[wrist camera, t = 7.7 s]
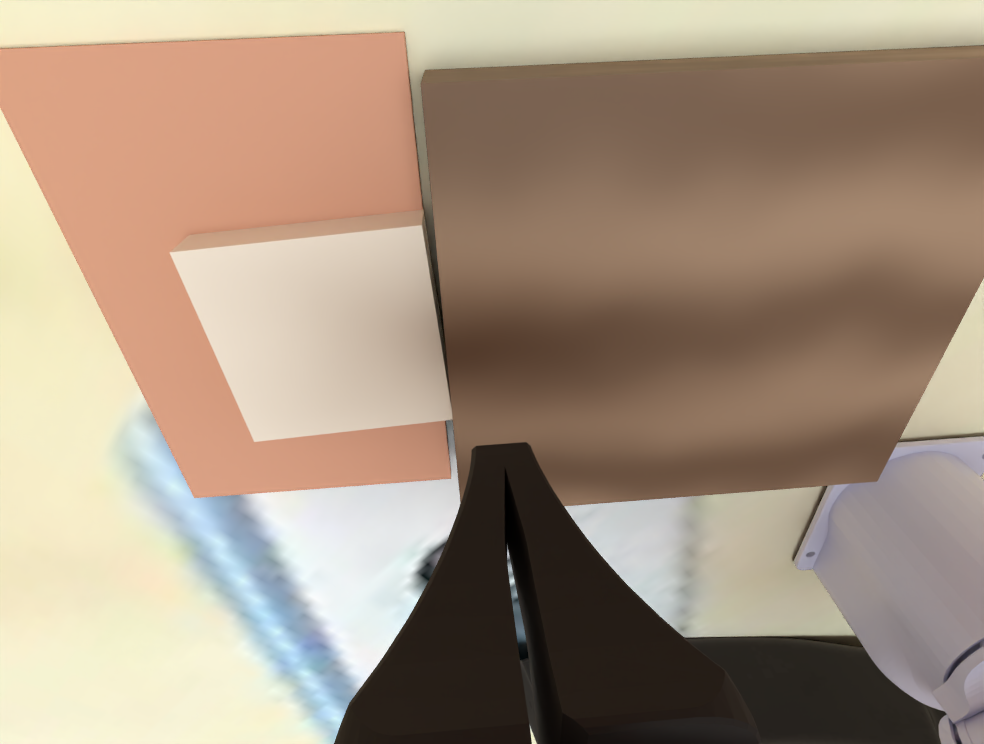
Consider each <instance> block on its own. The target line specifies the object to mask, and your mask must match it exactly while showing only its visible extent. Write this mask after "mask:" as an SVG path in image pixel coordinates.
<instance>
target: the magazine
mask: <svg viewBox="0 0 984 744" xmlns="http://www.w3.org/2000/svg"><path fill="white" fill-rule="evenodd" d="M685 639H686V640H688V641H689V642H690V643H691V644H692V645H694V646H695V647H696V648H697V649H699V650H700V651H701V652H702V653H703V654H705V655H706V656H707V657H709V658H710V659H711V660H712V661H714V662H715V663H716V664H718V665H719V666H720V667H722V668H723V669H724V670H725V671H726V672H727V673H728V675H729V676H730V678H731V680H732V681H733V683H734V684H735V686H736V688H737V689H738V691H739V693H740V694H741V696H742V698H743V700H744V702H745V703H746V705H747V707H748V709H749V711H750V713H751V715H752V717H753V719H754V721H755V724H756V726H757V729H758V732H759V734H760V737H761V741H760V744H941V741H940V737H939V726H938V725H939V722H940V720H941V719H942V718H943V717H944V716H945V715H947V714H946V713H945V711H942V710H938V709H935V708H932V707H930V706H928V705H925V704H923V703H921V702H919V701H918V700H916V699H914V698H913V697H911V696H910V695H908V694H907V693H905V692H904V691H903V690H901V689H900V688H899V687H898V686H896V685H895V684H894V683H893V682H892V681H891V680H889V679H888V678H887V677H886V676H885V675H884V674H883V673H882V671H881V670H880V669H879V668H878V667H877V666H876V664H875V663H874V662H873V660H872V659H871V657H870V656H869V654H868V653H867V651H866V650H865V648H862V647H855V646H848V645H841V644H834V643H826V642H819V641H812V640H804V639H791V638H779V637H717V638H685ZM520 664H521V671H522V678H523V685H524V692H525V699H526V705H527V712H528V718H529V724H530V726H531V729H532V732H533V734H534V737H535V740H536V742H537V744H538V737H537V728H536V719H535V710H534V701H533V691H532V683H531V674H530V665H529V659H528V658H526V659H523V660H520Z"/></svg>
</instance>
